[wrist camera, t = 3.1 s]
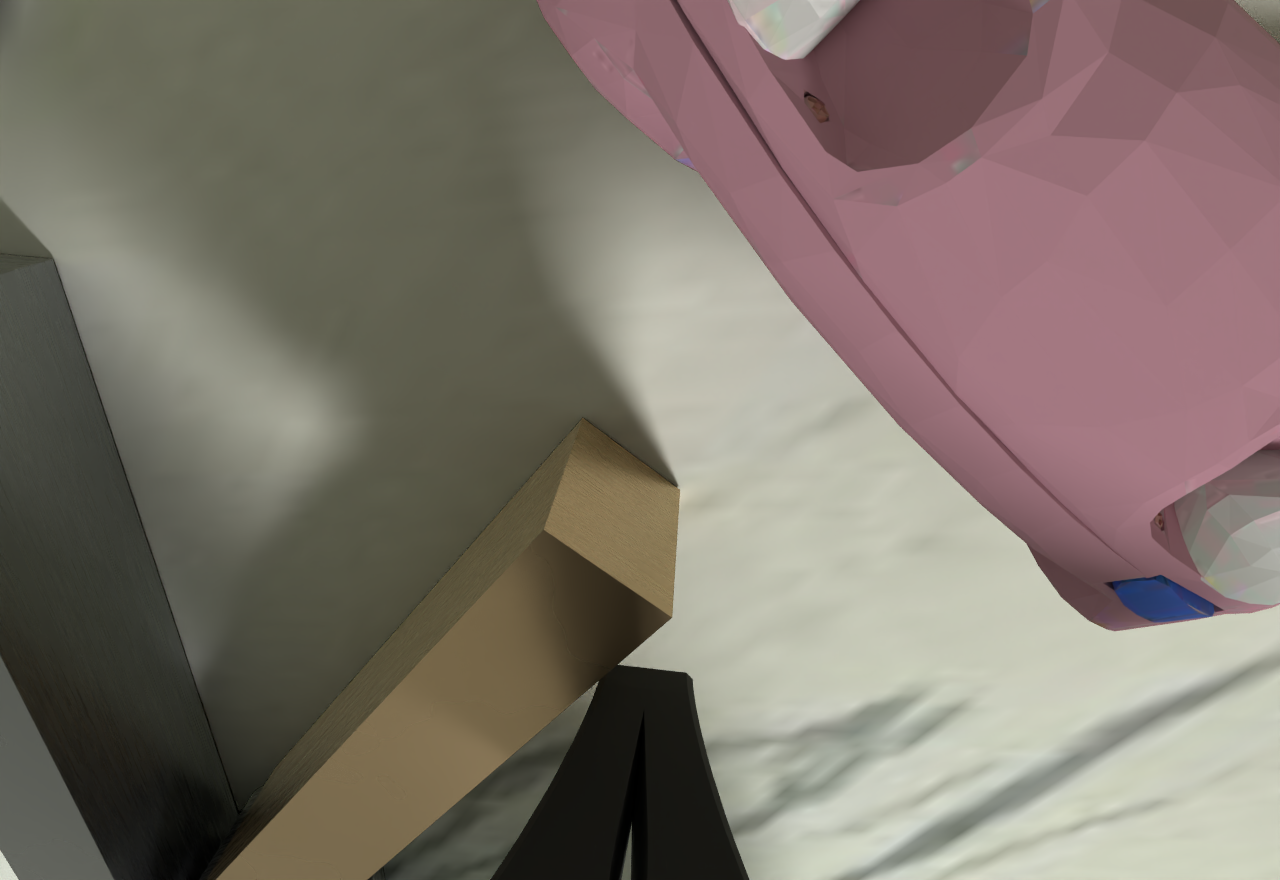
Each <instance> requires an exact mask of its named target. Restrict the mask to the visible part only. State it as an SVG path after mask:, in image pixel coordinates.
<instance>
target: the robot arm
mask: <svg viewBox="0 0 1280 880" xmlns="http://www.w3.org/2000/svg"><path fill="white" fill-rule="evenodd" d="M631 824H632V853H631V880H749V877H748V875H747V872H746V870H745V867H744V864H743V862H742V859H741V857H740V854H739V851H738V849H737V846H736V843H735V841H734V838H733V835H732V832H731V829H730V827H729V824H728V821H727V818H726V815H725V812H724V809H723V806H722V803H721V800H720V796H719V793H718V790H717V787H716V784H715V781H714V778H713V774H712V771H711V768H710V764H709V760H708V757H707V753H706V749H705V745H704V741H703V737H702V733H701V729H700V725H699V720H698V715H697V710H696V704H695V698H694V691H693V679H692V678H691V677H690V676H689V675H688V674H687V673H683V672H675V671H666V670H658V669H649V668H640V667H632V666H623V665H616V666H615V667H614V668H613V669H612V670H610V671H609V672H608V673H607V674H606V675H605V676H603V677H602V678H601V679H600V680H599V682H598V685H597V688H596V691H595V693H594V696H593V699H592V701H591V704H590V706H589V708H588V711H587V713H586V715H585V718H584V720H583V722H582V724H581V726H580V728H579V730H578V733H577V735H576V737H575V739H574V741H573V743H572V745H571V747H570V749H569V750H568V752H567V754H566V756H565V758H564V760H563V762H562V764H561V766H560V768H559V769H558V771H557V773H556V775H555V777H554V779H553V781H552V782H551V784H550V786H549V788H548V790H547V791H546V793H545V795H544V796H543V798H542V800H541V801H540V803H539V805H538V806H537V808H536V810H535V811H534V813H533V814H532V816H531V818H530V819H529V821H528V823H527V824H526V826H525V828H524V829H523V831H522V833H521V834H520V836H519V838H518V839H517V841H516V842H515V844H514V845H513V847H512V848H511V850H510V851H509V853H508V854H507V856H506V857H505V859H504V861H503V862H502V863H501V865H500V866H499V868H498V869H497V871H496V872H495V874H494V875H493V877H492V878H491V880H621V878H622V873H623V867H624V862H625V856H626V851H627V846H628V840H629V835H630V829H631Z"/></svg>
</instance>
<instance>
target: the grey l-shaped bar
mask: <svg viewBox="0 0 1280 880" xmlns="http://www.w3.org/2000/svg"><path fill="white" fill-rule="evenodd" d="M238 816H239V815H238V812H237V809H236V806H235V803H234V800H233V797H232V794H231V791H230V788H229V785H228V782H227V779H226V776H225V773H224V770H223V767H222V764H221V761H220V758H219V755H218V752H217V749H216V746H215V743H214V740H213V737H212V734H211V731H210V728H209V725H208V722H207V719H206V716H205V713H204V710H203V707H202V704H201V701H200V698H199V695H198V692H197V689H196V686H195V683H194V680H193V677H192V674H191V671H190V668H189V665H188V662H187V659H186V656H185V653H184V650H183V647H182V644H181V641H180V638H179V635H178V632H177V629H176V626H175V624H174V621H173V618H172V615H171V612H170V609H169V606H168V603H167V600H166V597H165V594H164V591H163V588H162V585H161V582H160V579H159V576H158V573H157V570H156V567H155V564H154V561H153V558H152V555H151V552H150V549H149V546H148V543H147V540H146V537H145V534H144V531H143V528H142V525H141V522H140V519H139V516H138V513H137V510H136V507H135V504H134V501H133V498H132V495H131V492H130V489H129V486H128V483H127V480H126V477H125V474H124V471H123V468H122V465H121V462H120V459H119V456H118V453H117V450H116V447H115V444H114V441H113V438H112V435H111V432H110V429H109V426H108V423H107V420H106V417H105V414H104V411H103V408H102V405H101V402H100V399H99V396H98V393H97V390H96V387H95V384H94V381H93V378H92V375H91V372H90V369H89V366H88V363H87V360H86V357H85V354H84V351H83V348H82V345H81V342H80V339H79V336H78V333H77V330H76V327H75V324H74V321H73V318H72V315H71V312H70V309H69V306H68V303H67V300H66V297H65V294H64V291H63V288H62V285H61V282H60V279H59V276H58V273H57V270H56V267H55V264H54V261H53V259H49V258H38V257H28V256H17V255H6V254H0V850H1V852H2V853H3V855H4V856H5V858H6V860H7V861H8V863H9V865H10V866H11V868H12V869H13V871H14V873H15V874H16V876H17V877H18V879H19V880H199V879H200V878H201V876H202V874H203V873H204V871H205V869H206V868H207V866H208V865H209V863H210V861H211V860H212V858H213V857H214V855H215V853H216V852H217V850H218V849H219V847H220V845H221V844H222V842H223V841H224V839H225V837H226V836H227V834H228V832H229V831H230V829H231V828H232V826H233V824H234V823H235V821H236V820H237V818H238ZM368 880H385V875H384V870H383V867H382V868H380V869H379V870H378V871H377V872H376V873H375V874H373V875H372V876H371V877H370V878H369V879H368Z"/></svg>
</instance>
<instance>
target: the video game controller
mask: <svg viewBox="0 0 1280 880" xmlns="http://www.w3.org/2000/svg"><path fill="white" fill-rule="evenodd" d="M537 3H538V5H539V7H540V10H541V12H542V14H543V17H544V19H545V20H546V21H547V23H548V24H549V26H550V27H551V29H552V30H553V32H554V33H555V34H556V36H557V37H558V39H559V40H560V42H561V43H562V45H563V46H564V47H565V49H566V50H567V52H568V53H569V55H570V56H571V57H572V59H573V60H574V61H575V63H576V64H577V65H578V67H579V68H580V69H581V71H582V72H583V73H584V75H585V76H586V77H587V79H588V80H589V81H590V83H591V84H592V85H593V87H594V88H595V89H596V90H597V91H598V92H599V93H600V94H601V95H602V96H603V97H604V98H605V99H606V100H607V101H609V102H610V103H611V104H612V105H613V106H614V107H615V108H616V109H617V110H618V111H619V112H620V113H621V114H622V115H624V116H625V117H626V118H627V119H628V120H629V121H630V122H631V123H633V124H634V125H635V126H636V127H637V128H639V129H640V130H641V131H642V132H643V133H644V134H646V135H647V136H648V137H649V138H650V139H652V140H653V141H654V142H655V143H656V144H657V145H659V146H660V147H661V148H662V149H663V150H664V151H666V152H667V153H668V154H669V155H670V156H672V157H673V158H674V159H675V160H677V161H679V162H681V163H682V164H684V165H686V166H688V167H690V168H692V169H693V170H695V171H697V172H699V174H700V175H701V176H702V178H703V179H704V181H705V182H706V183H707V185H708V186H709V188H710V189H711V190H712V192H713V193H714V195H715V196H716V197H717V199H718V200H719V201H720V203H721V204H722V206H723V207H724V208H725V210H726V211H727V213H728V214H729V215H730V217H731V218H732V219H733V221H734V222H735V224H736V225H737V226H738V228H739V229H740V231H741V232H742V233H743V235H744V236H745V237H746V239H747V240H748V242H749V243H750V244H751V246H752V247H753V249H754V250H755V251H756V253H757V254H758V256H759V257H760V258H761V260H762V261H763V262H764V264H765V265H766V267H767V268H768V269H769V271H770V272H771V274H772V275H773V276H774V278H775V279H776V280H777V282H778V283H779V285H780V286H781V287H782V289H783V290H784V292H785V293H786V294H787V296H788V297H789V298H790V300H791V301H792V302H793V303H794V305H795V306H796V307H797V308H798V309H799V310H800V312H801V313H802V314H803V315H804V316H805V317H806V318H807V320H808V321H809V322H810V323H811V324H812V325H813V327H814V328H815V329H816V330H817V331H818V332H819V333H820V335H821V336H822V337H823V338H824V339H825V340H826V342H827V343H828V344H829V345H830V346H831V347H832V348H833V350H834V351H835V352H836V353H837V354H838V355H839V357H840V358H841V359H842V360H843V361H844V362H845V363H846V365H847V366H848V367H849V368H850V369H851V370H852V372H853V373H854V374H855V375H856V376H857V377H858V378H859V380H860V381H861V382H862V383H863V384H864V385H865V387H866V388H867V389H868V390H869V391H870V392H871V394H872V395H873V396H874V397H875V398H876V399H877V400H878V402H879V403H880V404H881V405H882V406H883V407H884V409H885V410H886V411H887V412H888V413H889V414H890V415H891V417H892V418H893V419H894V420H895V421H896V422H897V424H898V425H899V426H900V427H901V428H902V429H903V430H904V431H905V432H906V433H908V434H909V435H910V436H911V437H912V438H913V439H914V440H915V441H916V442H917V443H918V444H919V445H920V446H921V447H922V448H923V449H924V450H925V451H926V452H927V453H928V454H929V455H930V456H931V457H932V458H933V459H934V460H935V461H936V462H937V463H939V464H940V465H941V466H942V467H943V468H944V469H945V470H946V471H947V472H948V473H949V474H950V475H951V476H952V477H953V478H954V479H955V480H956V481H957V482H958V483H959V484H960V485H961V486H962V487H963V488H964V489H965V490H966V491H967V492H969V493H970V494H971V495H972V496H973V497H974V498H975V499H976V500H977V501H978V502H979V503H980V504H981V505H982V506H983V507H984V508H986V509H987V510H988V511H989V512H990V513H991V514H993V515H994V516H995V517H996V518H997V519H998V520H1000V521H1001V522H1002V523H1003V524H1004V525H1006V526H1007V527H1008V528H1009V529H1010V530H1011V531H1013V532H1014V533H1015V534H1016V535H1017V536H1018V537H1020V538H1021V539H1022V540H1023V541H1024V542H1026V543H1027V545H1028V547H1029V549H1030V551H1031V553H1032V555H1033V556H1034V558H1035V560H1036V562H1037V564H1038V566H1039V567H1040V568H1041V570H1042V571H1043V573H1044V574H1045V575H1046V577H1047V578H1048V579H1049V581H1050V582H1051V584H1052V585H1053V586H1054V588H1055V589H1056V590H1057V592H1058V593H1059V595H1060V596H1061V597H1062V598H1063V599H1064V600H1065V601H1066V602H1067V603H1069V604H1070V605H1071V606H1072V607H1073V608H1074V609H1076V610H1077V611H1078V612H1079V613H1080V614H1081V615H1083V616H1084V617H1085V618H1086V619H1087V620H1089V621H1091V622H1093V623H1095V624H1097V625H1099V626H1101V627H1103V628H1105V629H1108V630H1112V631H1120V630H1127V629H1134V628H1141V627H1148V626H1155V625H1162V624H1169V623H1176V622H1183V621H1190V620H1197V619H1202V618H1207V617H1212V616H1217V615H1222V614H1238V613H1253V612H1257V611H1261V610H1265V609H1269V608H1273V607H1275V606H1277V605H1279V604H1280V44H1279V43H1278V42H1277V41H1276V40H1275V39H1274V38H1273V37H1272V36H1271V35H1270V34H1269V33H1268V32H1267V31H1266V30H1265V29H1264V28H1263V27H1262V26H1260V25H1259V24H1258V23H1257V22H1256V21H1255V20H1254V19H1253V18H1252V17H1251V16H1250V15H1249V14H1248V13H1247V12H1246V11H1245V10H1244V9H1243V8H1241V7H1240V6H1239V5H1238V4H1237V3H1236V2H1235V1H1234V0H537Z"/></svg>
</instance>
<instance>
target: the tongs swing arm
mask: <svg viewBox="0 0 1280 880" xmlns="http://www.w3.org/2000/svg"><path fill="white" fill-rule="evenodd" d="M679 497H680V490H679V489H678V488H677V487H675V486H674V485H673V484H671V483H670V482H669V481H667V480H666V479H665V478H663V477H662V476H660V475H659V474H658V473H656V472H655V471H654V470H652V469H651V468H650V467H648V466H647V465H646V464H644V463H643V462H642V461H640V460H639V459H638V458H636V457H635V456H634V455H632V454H631V453H630V452H628V451H627V450H626V449H624V448H623V447H622V446H620V445H619V444H617V443H616V442H615V441H613V440H612V439H611V438H609V437H608V436H607V435H605V434H604V433H603V432H601V431H600V430H599V429H597V428H596V427H595V426H593V425H592V424H591V423H589V422H588V421H587V420H585V419H584V418H582V419H581V420H580V421H579V423H578V424H577V425H576V426H575V427H574V428H573V429H572V431H571V432H570V433H569V434H568V435H567V436H566V437H565V439H564V440H563V441H562V442H561V443H560V444H559V445H558V446H557V448H556V449H555V450H554V451H553V452H552V453H551V454H550V456H549V457H548V458H547V459H546V460H545V461H544V462H543V464H542V465H541V466H540V467H539V468H538V469H537V470H536V472H535V473H534V474H533V475H532V476H531V477H530V478H529V479H528V481H527V482H526V483H525V484H524V485H523V486H522V487H521V489H520V490H519V491H518V492H517V493H516V494H515V495H514V497H513V498H512V499H511V500H510V501H509V502H508V503H507V505H506V506H505V507H504V508H503V509H502V510H501V511H500V512H499V514H498V515H497V516H496V517H495V518H494V519H493V520H492V522H491V523H490V524H489V525H488V526H487V527H486V528H485V530H484V531H483V532H482V533H481V534H480V535H479V536H478V538H477V539H476V540H475V541H474V542H473V543H472V544H471V545H470V547H469V548H468V549H467V550H466V551H465V552H464V553H463V555H462V556H461V557H460V558H459V559H458V560H457V561H456V563H455V564H454V565H453V566H452V567H451V568H450V569H449V571H448V572H447V573H446V574H445V575H444V576H443V577H442V578H441V580H440V581H439V582H438V583H437V584H436V585H435V586H434V588H433V589H432V590H431V591H430V592H429V593H428V594H427V596H426V597H425V598H424V599H423V600H422V601H421V602H420V604H419V605H418V606H417V607H416V608H415V609H414V610H413V611H412V613H411V614H410V615H409V616H408V617H407V618H406V619H405V621H404V622H403V623H402V624H401V625H400V626H399V627H398V629H397V630H396V631H395V632H394V633H393V634H392V635H391V637H390V638H389V639H388V640H387V641H386V642H385V643H384V644H383V646H382V647H381V648H380V649H379V650H378V651H377V652H376V654H375V655H374V656H373V657H372V658H371V659H370V660H369V662H368V663H367V664H366V665H365V666H364V667H363V668H362V670H361V671H360V672H359V673H358V674H357V675H356V676H355V677H354V679H353V680H352V681H351V682H350V683H349V684H348V685H347V687H346V688H345V689H344V690H343V691H342V692H341V693H340V695H339V696H338V697H337V698H336V699H335V700H334V701H333V703H332V704H331V705H330V706H329V707H328V708H327V709H326V710H325V712H324V713H323V714H322V715H321V716H320V717H319V718H318V720H317V721H316V722H315V723H314V724H313V725H312V726H311V728H310V729H309V730H308V731H307V732H306V733H305V734H304V736H303V737H302V738H301V739H300V740H299V741H298V742H297V743H296V745H295V746H294V747H293V748H292V749H291V750H290V751H289V753H288V754H287V755H286V756H285V757H284V758H283V759H282V761H281V762H280V763H279V764H278V765H277V766H276V767H275V769H274V770H273V772H272V774H271V775H270V777H269V778H268V780H267V782H266V783H265V785H264V786H262V787H260V788H258V789H257V790H256V791H254V793H253V794H252V795H251V797H250V799H249V800H248V802H247V804H246V805H245V807H244V808H243V810H242V812H241V813H240V815H239V816H238V818H237V820H236V821H235V823H234V824H233V826H232V828H231V829H230V831H229V832H228V834H227V836H226V837H225V839H224V841H223V842H222V844H221V845H220V847H219V849H218V850H217V852H216V853H215V855H214V857H213V858H212V860H211V861H210V863H209V865H208V866H207V868H206V869H205V871H204V873H203V874H202V876H201V878H200V879H199V880H368V879H369V878H370V877H371V876H372V875H373V874H375V873H376V872H377V871H378V870H379V869H380V868H382V867H383V866H384V865H385V864H386V863H387V862H388V861H390V860H391V859H392V858H393V857H394V856H395V855H397V854H398V853H399V852H400V851H401V850H402V849H404V848H405V847H406V846H407V845H408V844H409V843H411V842H412V841H413V840H414V839H415V838H416V837H418V836H419V835H420V834H421V833H422V832H423V831H425V830H426V829H427V828H428V827H429V826H430V825H431V824H433V823H434V822H435V821H436V820H437V819H438V818H440V817H441V816H442V815H443V814H444V813H445V812H447V811H448V810H449V809H450V808H451V807H452V806H454V805H455V804H456V803H457V802H458V801H459V800H461V799H462V798H463V797H464V796H465V795H466V794H468V793H469V792H470V791H471V790H472V789H473V788H474V787H476V786H477V785H478V784H479V783H480V782H481V781H483V780H484V779H485V778H486V777H487V776H488V775H490V774H491V773H492V772H493V771H494V770H495V769H497V768H498V767H499V766H500V765H501V764H502V763H504V762H505V761H506V760H507V759H508V758H509V757H511V756H512V755H513V754H514V753H515V752H516V751H517V750H519V749H520V748H521V747H522V746H523V745H524V744H526V743H527V742H528V741H529V740H530V739H531V738H533V737H534V736H535V735H536V734H537V733H538V732H540V731H541V730H542V729H543V728H544V727H545V726H547V725H548V724H549V723H550V722H551V721H552V720H554V719H555V718H556V717H557V716H558V715H559V714H560V713H562V712H563V711H564V710H565V709H566V708H567V707H569V706H570V705H571V704H572V703H573V702H574V701H576V700H577V699H578V698H579V697H580V696H581V695H583V694H584V693H585V692H586V691H587V690H588V689H590V688H591V687H592V686H593V685H594V684H595V683H596V682H598V681H599V680H600V679H601V678H602V677H603V676H605V675H606V674H607V673H608V672H609V671H610V670H612V669H613V668H614V667H615V666H616V665H617V664H619V663H620V662H621V661H622V660H623V659H624V658H626V657H627V656H628V655H629V654H630V653H631V652H633V651H634V650H635V649H636V648H637V647H638V646H639V645H641V644H642V643H643V642H644V641H645V640H646V639H648V638H649V637H650V636H651V635H652V634H653V633H655V632H656V631H657V630H658V629H659V628H660V627H662V626H663V625H664V624H665V623H666V622H667V621H669V620H670V619H671V618H672V611H673V595H674V579H675V563H676V546H677V530H678V514H679Z"/></svg>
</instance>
